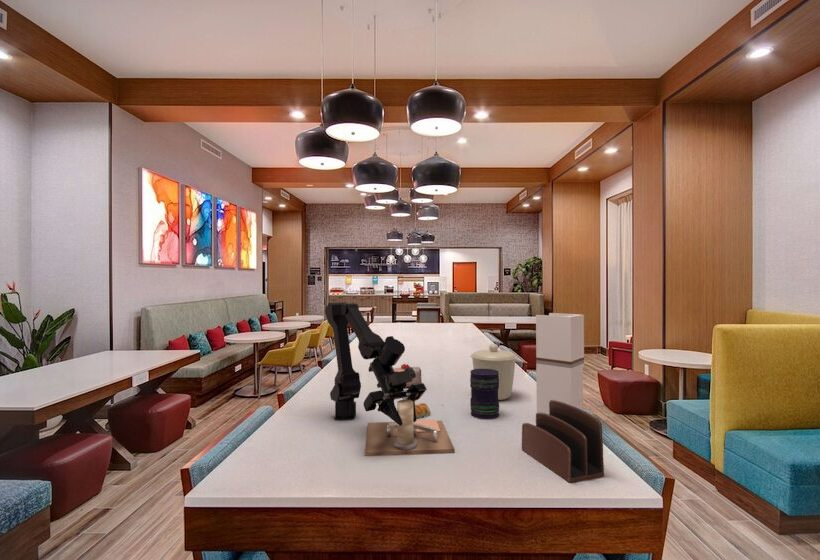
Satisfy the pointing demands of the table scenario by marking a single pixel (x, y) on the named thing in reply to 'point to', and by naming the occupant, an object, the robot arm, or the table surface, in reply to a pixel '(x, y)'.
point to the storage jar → (484, 393)
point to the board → (385, 445)
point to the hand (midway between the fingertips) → (408, 423)
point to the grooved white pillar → (559, 359)
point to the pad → (427, 423)
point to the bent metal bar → (414, 430)
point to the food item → (417, 373)
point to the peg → (405, 426)
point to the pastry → (422, 410)
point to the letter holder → (566, 442)
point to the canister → (497, 367)
